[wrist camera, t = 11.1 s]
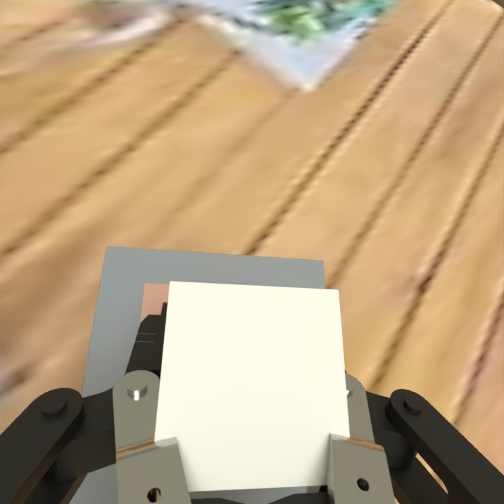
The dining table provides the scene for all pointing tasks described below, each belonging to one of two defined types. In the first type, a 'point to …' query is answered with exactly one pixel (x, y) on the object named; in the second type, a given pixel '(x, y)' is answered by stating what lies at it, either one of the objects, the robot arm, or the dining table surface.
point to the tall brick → (252, 384)
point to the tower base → (150, 302)
